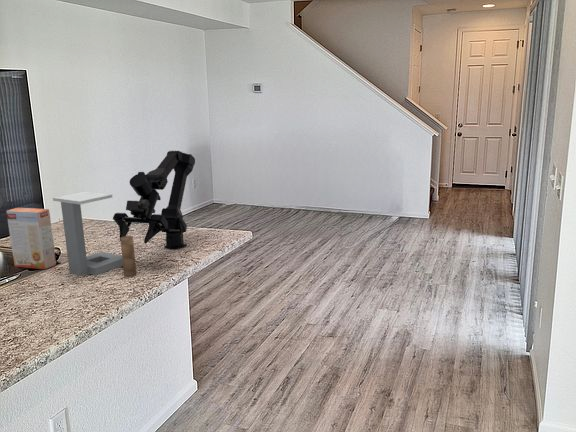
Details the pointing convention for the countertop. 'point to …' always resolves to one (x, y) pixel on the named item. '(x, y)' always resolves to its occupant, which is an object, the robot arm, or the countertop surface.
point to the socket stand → (75, 236)
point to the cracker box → (31, 238)
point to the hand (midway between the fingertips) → (132, 242)
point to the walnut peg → (128, 256)
